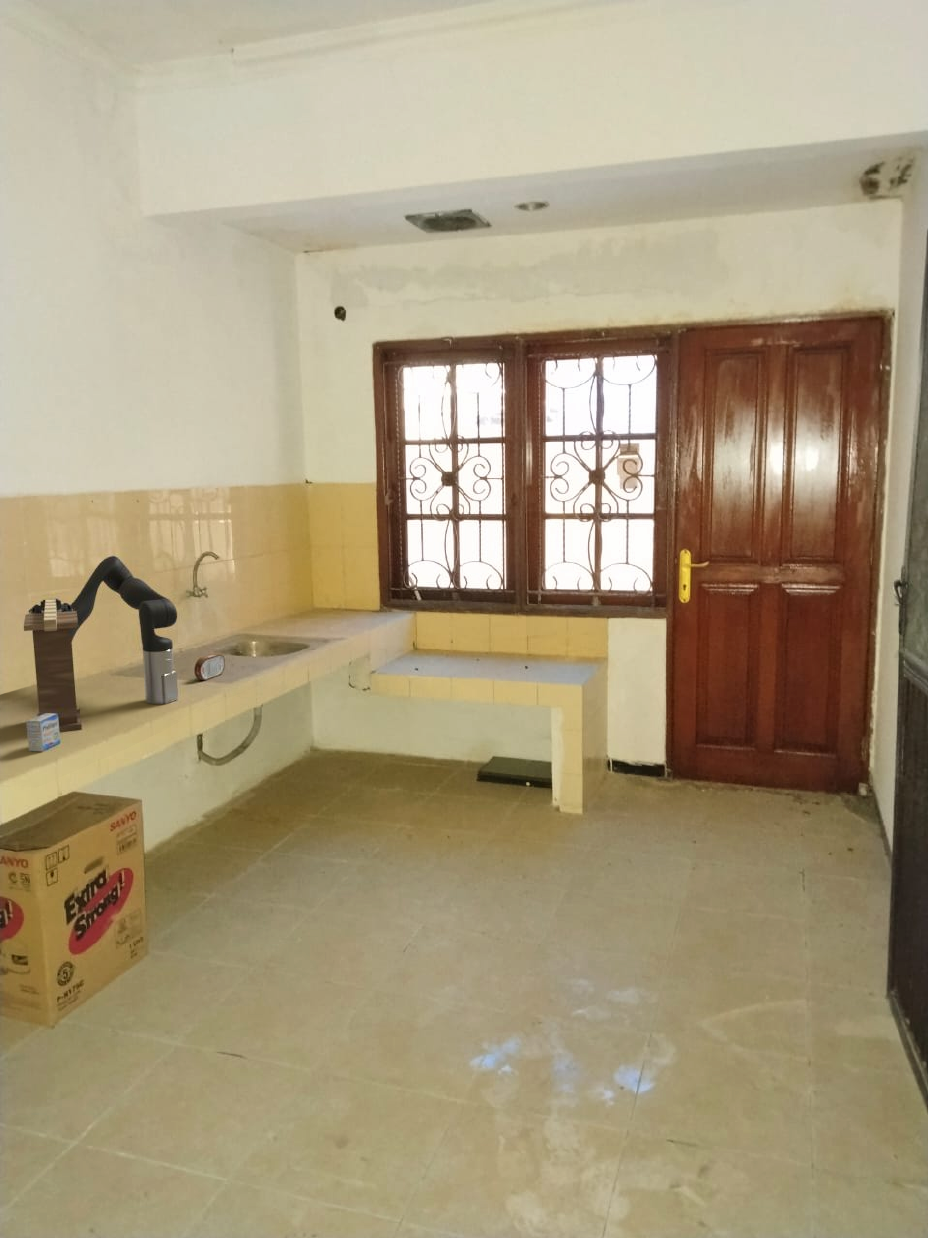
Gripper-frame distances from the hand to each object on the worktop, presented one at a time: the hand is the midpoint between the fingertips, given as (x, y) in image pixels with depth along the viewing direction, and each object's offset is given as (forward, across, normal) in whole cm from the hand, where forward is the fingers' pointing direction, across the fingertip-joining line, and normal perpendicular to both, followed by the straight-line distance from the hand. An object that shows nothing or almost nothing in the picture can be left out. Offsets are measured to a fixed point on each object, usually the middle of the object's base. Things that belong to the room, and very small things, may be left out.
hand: (50, 602), depth 276 cm
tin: (-42, +50, +16) cm, 68 cm away
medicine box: (+12, -4, +48) cm, 50 cm away
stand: (-7, 0, +36) cm, 37 cm away
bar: (+10, 0, +9) cm, 13 cm away
